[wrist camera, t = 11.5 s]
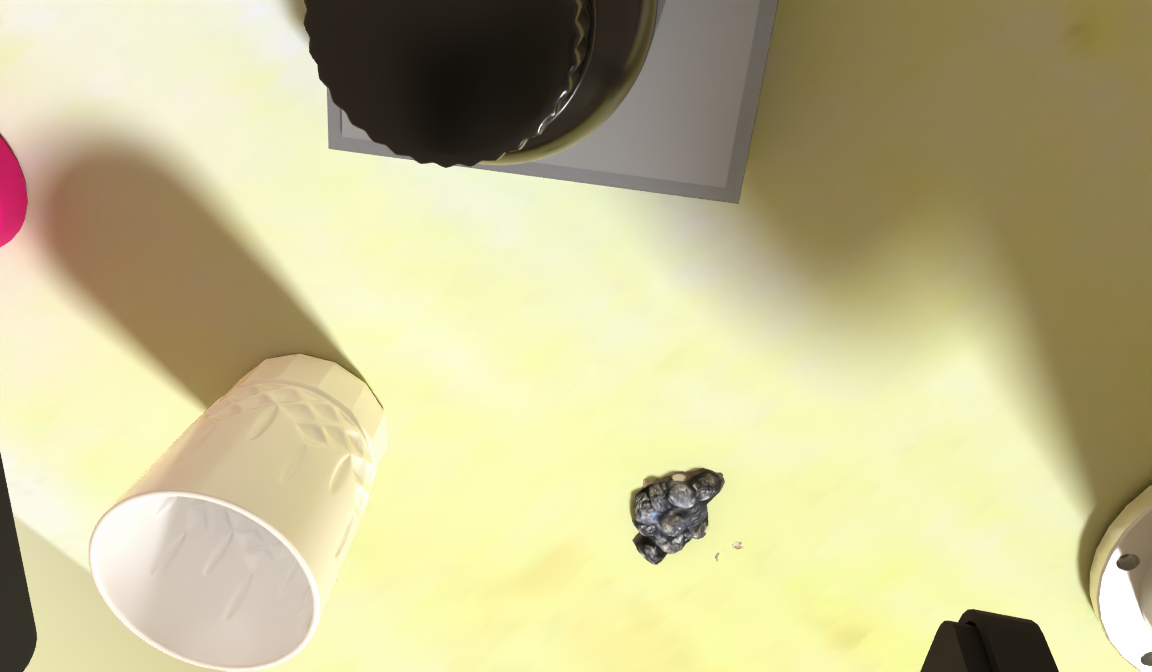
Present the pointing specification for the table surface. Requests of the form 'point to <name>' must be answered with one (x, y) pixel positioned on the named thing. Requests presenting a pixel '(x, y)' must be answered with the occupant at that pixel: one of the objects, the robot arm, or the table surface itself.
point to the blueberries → (674, 512)
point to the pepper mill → (11, 195)
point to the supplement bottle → (480, 71)
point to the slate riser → (660, 110)
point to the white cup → (245, 518)
